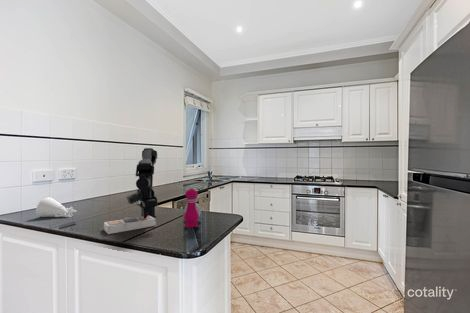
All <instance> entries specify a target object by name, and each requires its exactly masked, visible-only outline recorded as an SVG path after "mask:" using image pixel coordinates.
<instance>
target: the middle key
mask: <svg viewBox="0 0 470 313" xmlns="http://www.w3.org/2000/svg"><path fill="white" fill-rule="evenodd" d="M123 219H124V222H125V223H130V222H136V221H137V218H136V216H127V217H123Z"/></svg>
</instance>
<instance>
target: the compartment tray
mask: <svg viewBox="0 0 470 313" xmlns="http://www.w3.org/2000/svg"><path fill="white" fill-rule="evenodd" d="M135 217H136V216H135ZM142 217H143V216H142ZM142 217H141V216H137V217H136V218H137V221H136V222H130V223H125V222H124V218H123V219H119V220H117V219H116V220H110V221H103V230H104V231H105V233H106V234H108V235H111V234H116V233H117V234H118V233H121V232H128V231H132V230H134V231H135V230H138V229H144V228H149V227H155V226H156V224H157V223H156V222H157V221H156V220H157V219H156V217H151V216H147V217H150V218H151V219H149V220H142V221H141V220H139V218H142ZM116 221H119V222H121V224H118V225H111V226H109V225H108V223H109V222H116Z"/></svg>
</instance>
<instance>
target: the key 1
mask: <svg viewBox="0 0 470 313" xmlns="http://www.w3.org/2000/svg"><path fill="white" fill-rule="evenodd" d="M115 221H116V220H115ZM108 222H109V221H108ZM118 224H121V222H119V221H116V222H109V223H108V225H109V226H111V225H118Z"/></svg>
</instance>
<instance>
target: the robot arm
mask: <svg viewBox="0 0 470 313" xmlns="http://www.w3.org/2000/svg"><path fill="white" fill-rule="evenodd" d="M157 159H158V151H157V150H155V149H154V148H152V147H151V148H150V147H145V148H143V150H141V160H139V161H138V163H137V165H136V170H135V177H138V179H137V180H136V182H135V186H136V188H137V189H136V190H137V191H136V192H134V193H132V194H130V195H128V196H125V197H126V200H127V202H128V204H129V205H133V204H134V203H137V202H138V203H137V204H136V205H137V206H138V207H140V217H142V216H143V217H144V218H147V216H151V217H153V218H157V216H156V207H158V206H159V204H158V198H157V195H156V193H155V191H154V189H153V186H154V184H153V181H154V174H155V165H156V163H157Z"/></svg>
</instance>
